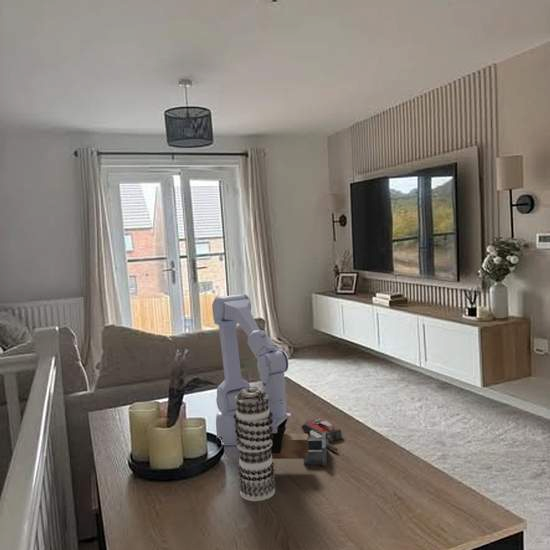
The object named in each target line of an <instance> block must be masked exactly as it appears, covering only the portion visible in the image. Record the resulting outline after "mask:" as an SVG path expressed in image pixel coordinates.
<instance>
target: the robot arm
mask: <svg viewBox="0 0 550 550" xmlns="http://www.w3.org/2000/svg"><path fill="white" fill-rule="evenodd" d="M211 307H212V309H211V310H212V317H213V322H214V325H217V326H218V331H219V339H220V341H219V342H220V348H221V355H222V364H223V365H222V366H223V375H224V380H223V381H222V382H221V383H220V384H219V385H218V386H217V388H216V400H215V401H216V406H217V409H218V411H217V413H216V418H215V427H216V428H215V429H216V439H217V438H219V439H220V438H221V439H220V440H222V442H223V443H224V445H223V446H237V444H238V443H237V441H236V438H237V437H236V436H237V435H236V433H235V430H236V427H235V426H234V425H235V418H233V416H234V415H235V414H236V410H237V401H236V400H235V396H237V395H238V393H239V392H240V391H241V390H242V389H245V388H249V387H251V384H250V382H249V381H247V380H246V379H244V378H243V377H242V369H241V361H240V360H241V359H240V355H239V354H240V353H239V352H240V351H239V344H238V335H237V334H238V333H237V324H238V325H239V326H240V328H241V330H243V331H244V333H245V334H246V336H247V337H248V338H247V340H246V341H247V345H248V346H249V348H250V350H251V352H252V354H253V355H254V357H255V358H256V360H257V363H256V367H257V370H258V373H259V379H260V382H261V383H262V389H263V390H264V391H265V393H267V394H269V397H268V406H269V411H270V412H272V413H273V416H272V417H271V419H272V420H273V423H272V424H270V425H269V426H271V427H272V428H273V431H272V432H270V433H272V434H273V437H272V438H271V440H272V446H271V451H272V453H280V452H281V446H282V438H283V434H285V432H286V429H287V426H286V424H287V422H288V419H291V418H292V413H291V412H287V401H286V399H287V397H286V381H285V379H286V377H285V373H286V372H287V371H288V369H289V359H288V355H287V354H286V352H285V351H284V350H283V349H280V348H279V347H276V346H275V344H274V342H273V341H272V340H271V338H270V336H269V335H268V333H267V332H266V331H265V330H262V329H260V328H259V326H258V323H257V321H256V320H255V317H254V315H253V314H252V303H251V300H250V297H249V296H248V294H247V293H244V292H243V293H239V294H231V295H226V296H215V297H214V299H213V301H212V305H211ZM236 417H237V416H236ZM268 417H269V416H268ZM237 425H238V424H237ZM238 432H239V430H238Z"/></svg>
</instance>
